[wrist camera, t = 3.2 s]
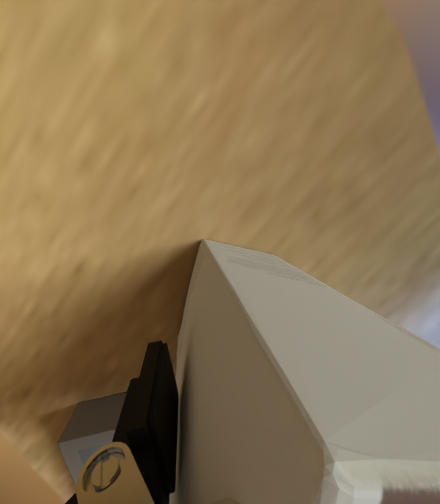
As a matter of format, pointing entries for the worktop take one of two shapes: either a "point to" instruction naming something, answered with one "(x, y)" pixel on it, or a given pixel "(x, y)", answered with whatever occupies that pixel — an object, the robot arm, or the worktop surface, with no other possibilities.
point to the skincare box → (299, 392)
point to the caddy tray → (90, 431)
